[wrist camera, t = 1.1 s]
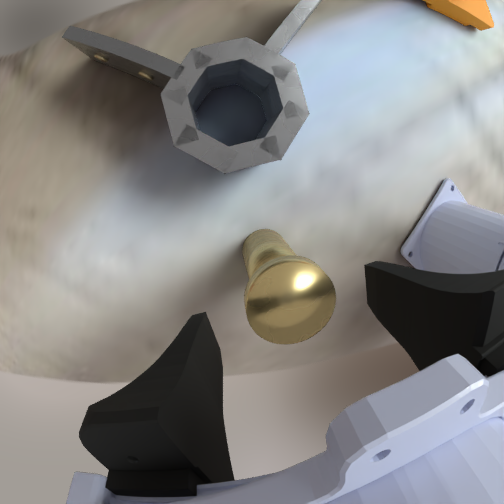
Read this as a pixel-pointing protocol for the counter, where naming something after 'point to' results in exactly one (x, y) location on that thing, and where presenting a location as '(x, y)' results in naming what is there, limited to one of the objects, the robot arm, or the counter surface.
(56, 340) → the counter surface
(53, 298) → the counter surface
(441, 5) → the bracket
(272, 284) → the hinge pin
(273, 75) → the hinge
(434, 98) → the counter surface
